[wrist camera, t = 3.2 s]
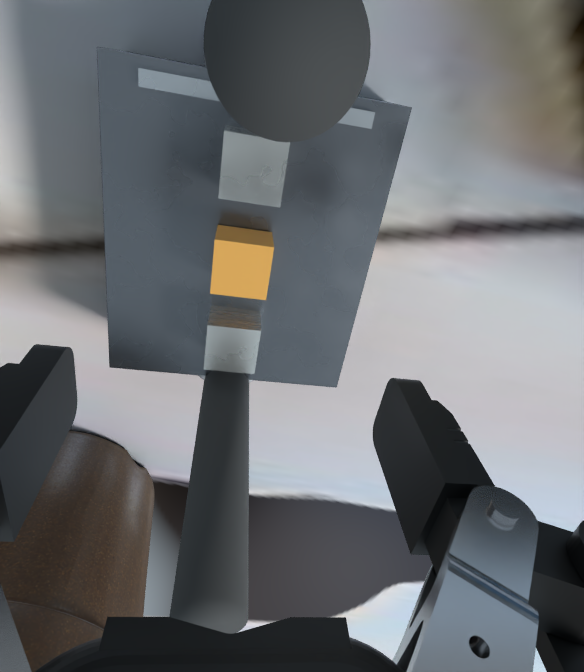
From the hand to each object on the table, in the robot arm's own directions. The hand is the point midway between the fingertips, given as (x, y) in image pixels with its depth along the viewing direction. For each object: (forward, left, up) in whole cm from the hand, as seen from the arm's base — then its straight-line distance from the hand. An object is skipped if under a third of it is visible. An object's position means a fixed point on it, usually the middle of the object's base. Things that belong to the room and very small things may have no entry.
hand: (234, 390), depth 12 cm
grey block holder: (0, 0, -14) cm, 14 cm away
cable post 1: (0, +10, -14) cm, 17 cm away
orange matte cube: (0, 0, -10) cm, 10 cm away
